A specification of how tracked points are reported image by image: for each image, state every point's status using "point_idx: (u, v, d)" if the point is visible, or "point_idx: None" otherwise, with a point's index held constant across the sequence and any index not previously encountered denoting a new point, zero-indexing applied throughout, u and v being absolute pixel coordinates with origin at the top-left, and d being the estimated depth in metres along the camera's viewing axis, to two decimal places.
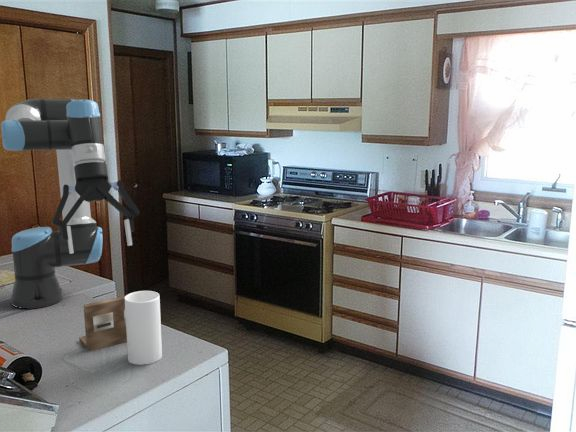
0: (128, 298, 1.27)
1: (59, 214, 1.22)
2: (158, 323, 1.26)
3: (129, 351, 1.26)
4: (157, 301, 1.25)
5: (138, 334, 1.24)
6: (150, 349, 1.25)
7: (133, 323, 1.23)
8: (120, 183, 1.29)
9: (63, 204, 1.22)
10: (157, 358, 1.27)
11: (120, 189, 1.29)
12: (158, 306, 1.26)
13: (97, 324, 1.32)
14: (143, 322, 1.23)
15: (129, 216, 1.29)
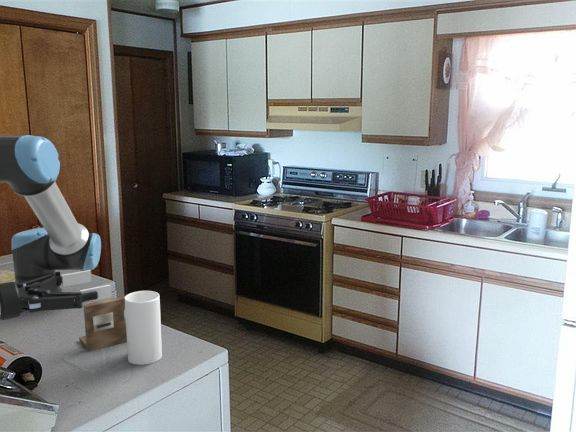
0: (128, 298, 1.27)
1: None
2: (158, 323, 1.26)
3: (129, 351, 1.26)
4: (157, 301, 1.25)
5: (138, 334, 1.24)
6: (150, 349, 1.25)
7: (133, 323, 1.23)
8: None
9: None
10: (157, 358, 1.27)
11: None
12: (158, 306, 1.26)
13: (97, 324, 1.32)
14: (143, 322, 1.23)
15: None
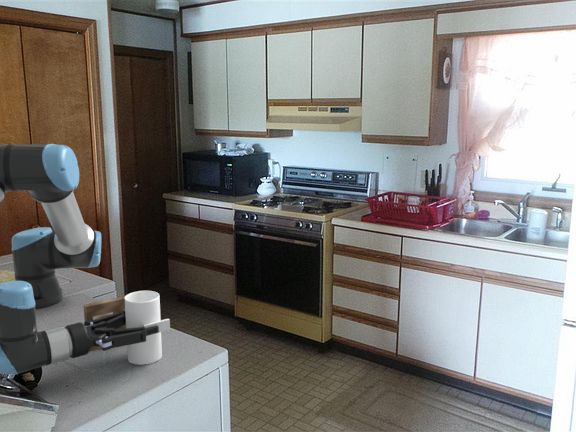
0: (128, 298, 1.27)
1: None
2: None
3: (129, 351, 1.26)
4: (157, 301, 1.25)
5: None
6: (150, 349, 1.25)
7: (133, 323, 1.23)
8: None
9: None
10: (157, 358, 1.27)
11: None
12: (158, 306, 1.26)
13: None
14: (143, 322, 1.23)
15: None
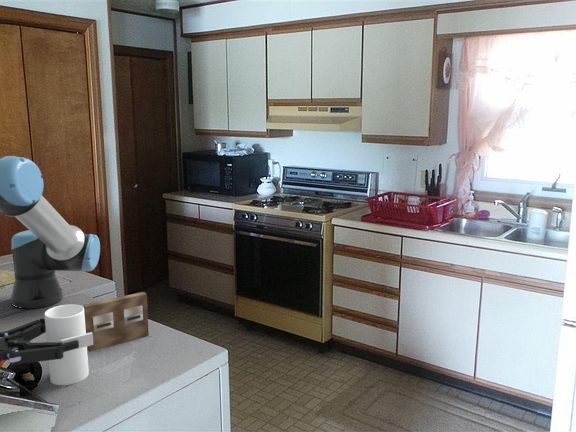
0: (50, 313, 1.18)
1: None
2: None
3: (50, 370, 1.16)
4: (80, 316, 1.16)
5: None
6: (72, 368, 1.16)
7: (53, 340, 1.14)
8: None
9: None
10: (81, 378, 1.17)
11: None
12: (82, 321, 1.16)
13: (97, 324, 1.32)
14: None
15: None
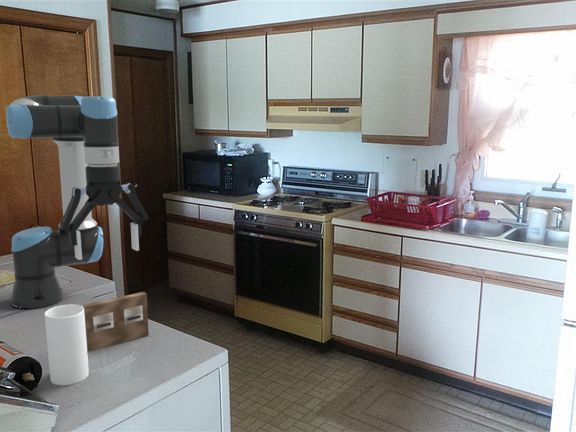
0: (50, 313, 1.18)
1: (70, 220, 1.16)
2: (82, 340, 1.17)
3: (50, 370, 1.16)
4: (80, 316, 1.16)
5: (58, 352, 1.14)
6: (72, 368, 1.16)
7: (53, 340, 1.14)
8: (132, 187, 1.23)
9: (74, 209, 1.16)
10: (81, 378, 1.17)
11: (131, 193, 1.24)
12: (82, 321, 1.16)
13: (97, 324, 1.32)
14: (64, 339, 1.14)
15: (138, 221, 1.26)
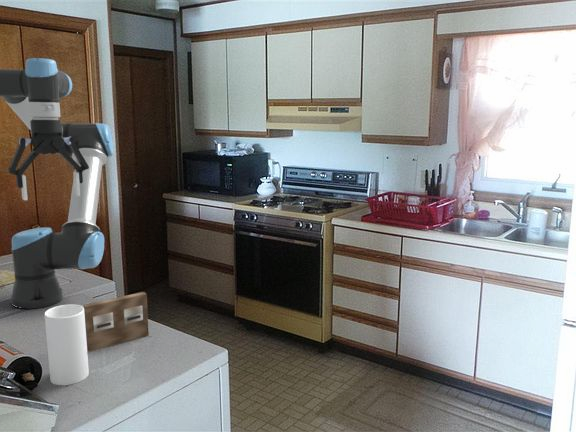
0: (50, 313, 1.18)
1: (16, 165, 1.35)
2: (82, 340, 1.17)
3: (50, 370, 1.16)
4: (80, 316, 1.16)
5: (58, 352, 1.14)
6: (72, 368, 1.16)
7: (53, 340, 1.14)
8: (73, 139, 1.42)
9: (20, 156, 1.35)
10: (81, 378, 1.17)
11: (72, 145, 1.43)
12: (82, 321, 1.16)
13: (97, 324, 1.32)
14: (64, 339, 1.14)
15: (79, 170, 1.45)
